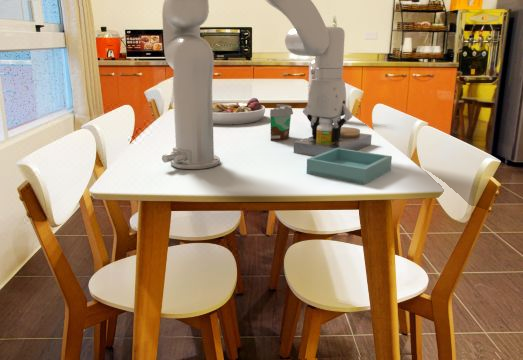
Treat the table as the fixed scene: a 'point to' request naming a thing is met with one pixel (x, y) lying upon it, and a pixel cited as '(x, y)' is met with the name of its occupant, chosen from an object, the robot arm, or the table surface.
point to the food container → (280, 122)
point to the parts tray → (349, 165)
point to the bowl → (237, 112)
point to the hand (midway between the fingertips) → (325, 139)
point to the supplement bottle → (325, 131)
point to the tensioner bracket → (348, 140)
